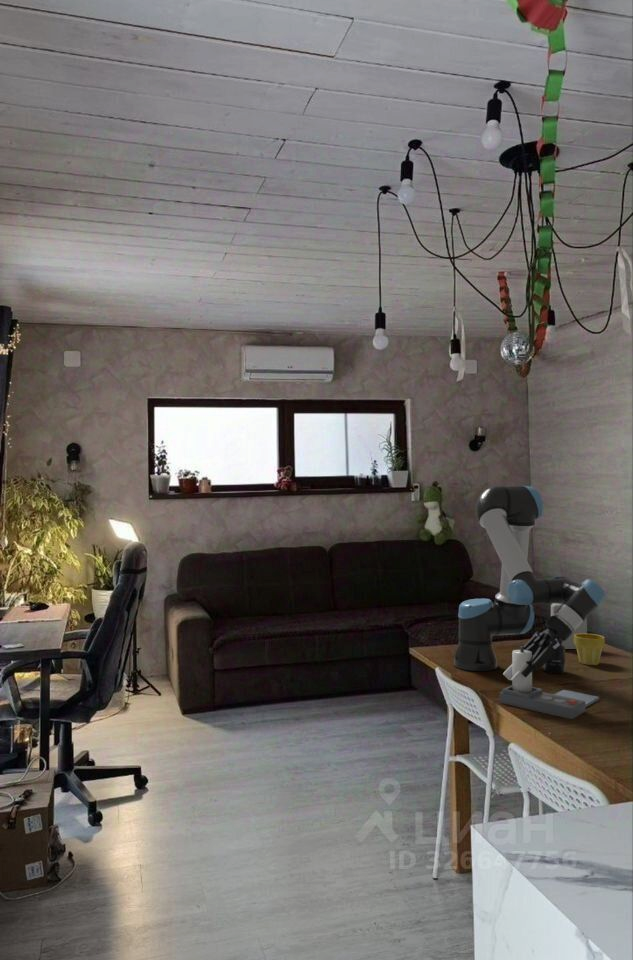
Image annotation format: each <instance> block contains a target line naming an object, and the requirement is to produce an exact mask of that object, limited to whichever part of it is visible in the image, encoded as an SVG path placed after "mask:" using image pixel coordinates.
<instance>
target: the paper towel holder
mask: <svg viewBox="0 0 633 960" xmlns="http://www.w3.org/2000/svg"><path fill="white" fill-rule="evenodd" d="M519 648H520V649H513V650H512V653H511V655H512V657H511V659H512V660H511V661H512V662H511V664H512V677H513V676H514V675H515V674H516V673H517V672H518V671H519V670H520V669H521V668H522V667H523V666H524V665H525V664H527V663H526V661H530V660H531V658H532V657H533V656H532V652H531V651H527V650H524V645H523V646H522V645H521V646H519ZM527 665H528V664H527ZM511 683H512V684H511V685H512V691H516V692H521V693H526V694H529V693H531V692H532V687H533V671H532V672H531V673H530V674H529V675H528V676H527V677H526V678H525V679H524V681H523V682H522V683H521V684H520V685H519V686H517V685H516V684H515V683H514V682H513V681H512V680H511Z"/></svg>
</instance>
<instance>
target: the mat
mask: <svg viewBox="0 0 633 960" xmlns="http://www.w3.org/2000/svg"><path fill="white" fill-rule="evenodd" d="M553 694H554V695H559V696H563V697H568V698H573V699H578V700H582V701H585V708H587V707H588V706H591V705H592V704H594V703H596V702H598V701H599V700H600V696H596V695H591V694H586V693H582V692H576V691H572V690H566V689H561V690H560V691H558V692H556V693H553Z"/></svg>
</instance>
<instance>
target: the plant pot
mask: <svg viewBox="0 0 633 960" xmlns="http://www.w3.org/2000/svg"><path fill="white" fill-rule="evenodd" d="M605 642H606V641H605V636H603V635H600V634H594V633H587V634H586V633H581V634H575V635H574V644H575V645H576V648H577V650H576V652H577V657H578V658H577V659H578V662H579V663H580V664H582V665H588V666H598V665H599V664H600V660H601V656H602V651H603V648H605Z"/></svg>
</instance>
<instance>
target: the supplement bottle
mask: <svg viewBox="0 0 633 960" xmlns="http://www.w3.org/2000/svg"><path fill="white" fill-rule="evenodd" d="M558 643H559V644H560V645H561V648H560V649H558V650H557V651H556V652H555V653H554V654H553V655H552V656H551V658H550V659H549V660H548V661H547V662H546V663H545V664H544V665H543V667H544V668H543V669H544V671H545V672H546V673H549V674H554V675H562V674H564V673H565V672H566V650H565V647H564V646H563V645H562V640H559V642H558Z"/></svg>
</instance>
